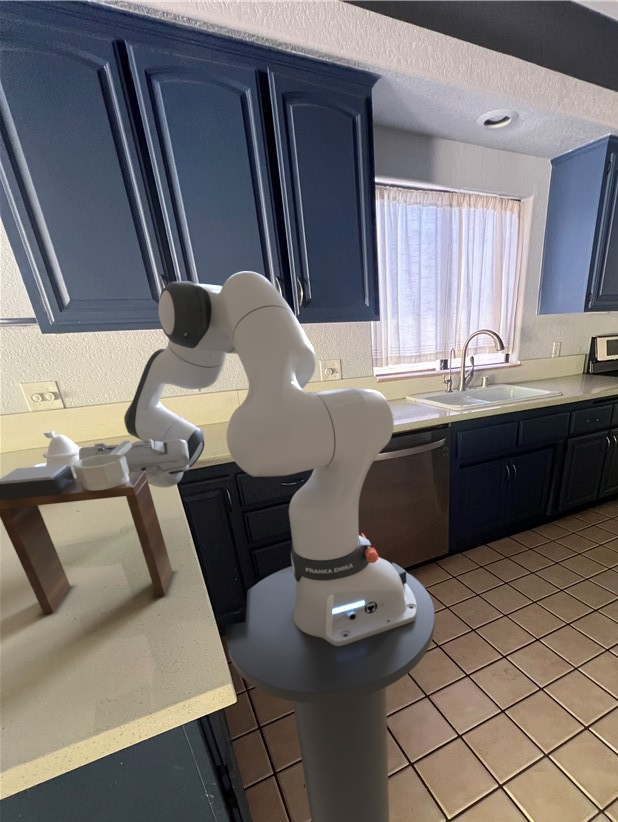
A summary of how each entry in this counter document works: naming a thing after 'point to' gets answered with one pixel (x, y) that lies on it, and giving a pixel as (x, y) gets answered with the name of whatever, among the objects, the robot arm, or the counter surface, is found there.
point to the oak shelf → (41, 553)
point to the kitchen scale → (35, 481)
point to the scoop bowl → (104, 469)
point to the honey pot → (61, 451)
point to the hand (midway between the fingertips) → (123, 445)
